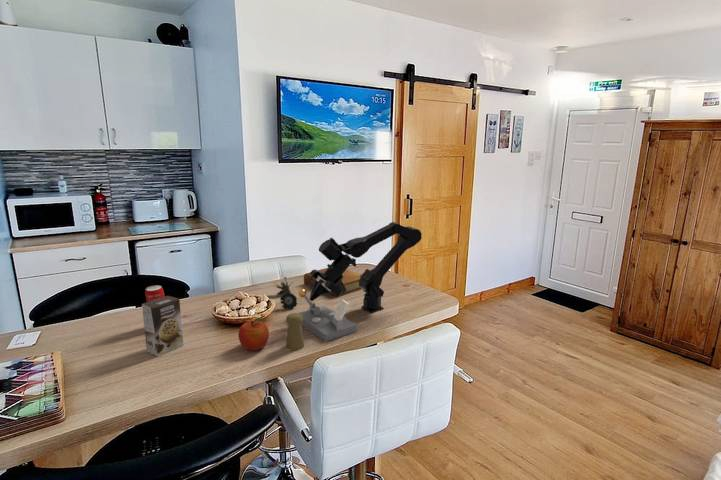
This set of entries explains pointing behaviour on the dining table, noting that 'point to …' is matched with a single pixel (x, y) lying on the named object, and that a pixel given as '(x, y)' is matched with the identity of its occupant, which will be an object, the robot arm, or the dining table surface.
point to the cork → (294, 332)
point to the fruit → (253, 334)
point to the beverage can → (154, 292)
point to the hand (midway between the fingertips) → (310, 300)
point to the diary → (348, 280)
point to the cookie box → (162, 325)
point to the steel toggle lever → (306, 298)
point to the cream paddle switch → (340, 311)
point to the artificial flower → (287, 296)
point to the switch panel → (326, 323)
